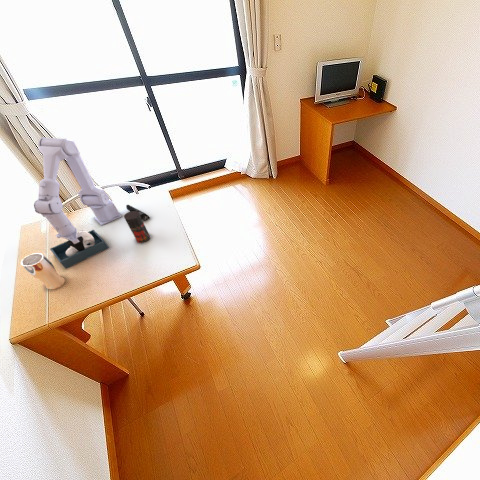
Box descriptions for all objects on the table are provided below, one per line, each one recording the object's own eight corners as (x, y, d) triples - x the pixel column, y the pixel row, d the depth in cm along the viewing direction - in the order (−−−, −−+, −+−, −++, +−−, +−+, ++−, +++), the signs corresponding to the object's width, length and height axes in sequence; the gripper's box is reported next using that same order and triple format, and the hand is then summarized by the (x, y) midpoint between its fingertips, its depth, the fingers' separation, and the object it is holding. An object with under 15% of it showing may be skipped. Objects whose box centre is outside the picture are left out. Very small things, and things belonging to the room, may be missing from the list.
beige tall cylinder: (43, 292, 110) (18, 268, 99) (46, 279, 114) (22, 255, 104) (65, 286, 113) (42, 263, 102) (67, 274, 117) (45, 250, 106)
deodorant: (133, 240, 133) (120, 217, 123) (143, 233, 137) (131, 209, 127) (143, 244, 132) (131, 221, 121) (153, 237, 136) (142, 213, 125)
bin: (98, 236, 133) (93, 229, 130) (108, 247, 129) (104, 241, 126) (55, 255, 123) (49, 248, 120) (65, 268, 119) (59, 262, 116)
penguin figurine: (90, 231, 123) (64, 251, 115) (101, 243, 129) (77, 262, 122) (80, 226, 124) (53, 245, 117) (91, 238, 130) (66, 257, 123)
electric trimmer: (132, 207, 150) (130, 202, 148) (150, 218, 145) (148, 213, 143) (126, 210, 148) (123, 206, 146) (144, 222, 143) (141, 217, 141)
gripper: (43, 220, 115) (61, 243, 124) (56, 237, 109) (75, 259, 118) (63, 212, 119) (79, 235, 128) (77, 228, 113) (93, 250, 122)
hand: (78, 246), depth 124 cm, fingers closed on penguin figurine, 6 cm apart
